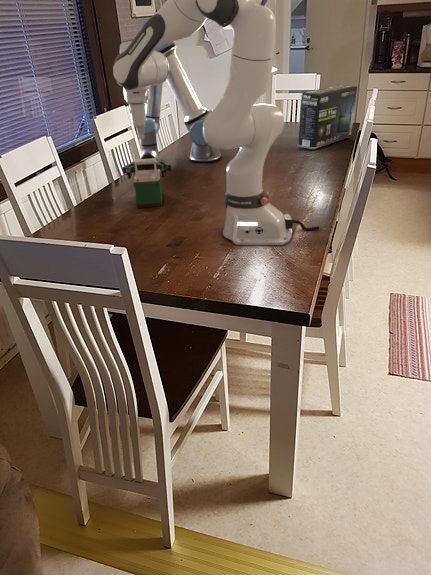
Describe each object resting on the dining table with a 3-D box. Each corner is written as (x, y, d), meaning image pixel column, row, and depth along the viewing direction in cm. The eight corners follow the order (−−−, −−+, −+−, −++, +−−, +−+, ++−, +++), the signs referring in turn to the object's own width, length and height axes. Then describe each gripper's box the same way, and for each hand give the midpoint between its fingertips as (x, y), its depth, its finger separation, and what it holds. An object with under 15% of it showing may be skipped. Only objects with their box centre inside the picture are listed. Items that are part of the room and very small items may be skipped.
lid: (159, 183, 168) (157, 160, 164) (134, 185, 168) (131, 162, 163) (160, 171, 180) (157, 150, 176) (136, 173, 180) (133, 151, 176)
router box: (314, 151, 231) (318, 94, 217) (296, 148, 237) (299, 92, 224) (352, 138, 251) (358, 85, 238) (335, 135, 258) (340, 83, 245)
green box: (161, 206, 173) (159, 183, 169) (137, 207, 173) (134, 184, 168) (162, 193, 185) (160, 171, 180) (139, 195, 185) (136, 173, 180)
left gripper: (177, 167, 207) (177, 182, 189) (121, 170, 206) (116, 185, 188) (176, 150, 203) (175, 163, 185) (119, 153, 202) (113, 167, 184)
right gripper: (129, 90, 164) (134, 130, 171) (126, 98, 146) (131, 143, 153) (147, 89, 164) (151, 128, 171) (146, 97, 147) (150, 141, 154)
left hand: (145, 174), depth 186 cm, fingers open, 13 cm apart
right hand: (142, 135), depth 162 cm, fingers open, 8 cm apart
